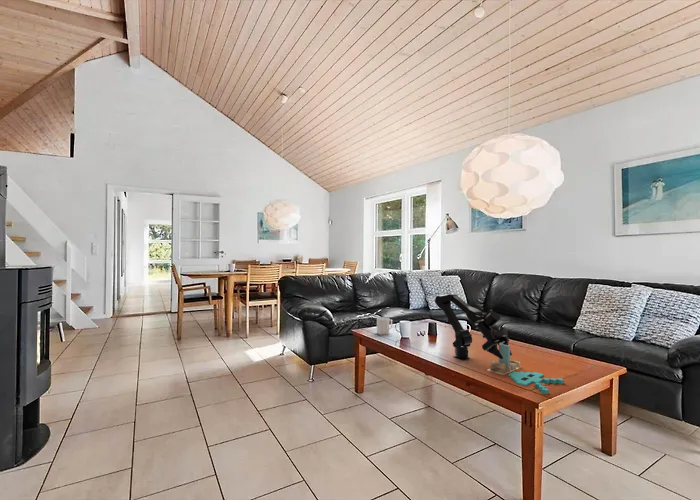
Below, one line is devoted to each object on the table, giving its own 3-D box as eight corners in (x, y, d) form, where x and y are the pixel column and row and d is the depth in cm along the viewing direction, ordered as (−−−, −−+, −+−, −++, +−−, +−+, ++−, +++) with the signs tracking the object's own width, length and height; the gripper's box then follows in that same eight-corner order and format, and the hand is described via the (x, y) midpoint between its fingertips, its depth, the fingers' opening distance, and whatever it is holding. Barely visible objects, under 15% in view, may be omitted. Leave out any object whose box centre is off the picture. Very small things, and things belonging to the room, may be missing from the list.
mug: (380, 335, 258) (380, 320, 258) (374, 333, 266) (374, 317, 266) (395, 334, 264) (395, 318, 264) (388, 331, 272) (388, 316, 272)
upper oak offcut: (491, 366, 186) (491, 362, 186) (494, 364, 189) (494, 360, 189) (503, 369, 182) (503, 365, 182) (506, 367, 185) (506, 363, 185)
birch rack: (486, 371, 186) (486, 365, 186) (504, 364, 198) (504, 358, 198) (503, 376, 179) (503, 369, 179) (521, 369, 191) (521, 362, 191)
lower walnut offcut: (490, 369, 187) (490, 365, 187) (494, 368, 189) (494, 364, 189) (503, 373, 181) (503, 369, 181) (507, 371, 184) (507, 367, 184)
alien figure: (563, 384, 172) (520, 372, 187) (563, 379, 172) (520, 368, 187) (546, 395, 159) (501, 382, 174) (546, 390, 159) (501, 377, 174)
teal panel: (498, 367, 190) (498, 344, 190) (500, 366, 191) (500, 343, 191) (508, 370, 186) (508, 346, 186) (509, 369, 187) (510, 345, 187)
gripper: (487, 324, 185) (508, 351, 177) (506, 320, 197) (526, 345, 189) (473, 337, 192) (493, 363, 183) (492, 332, 203) (511, 356, 195)
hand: (506, 356), depth 187 cm, fingers open, 9 cm apart
